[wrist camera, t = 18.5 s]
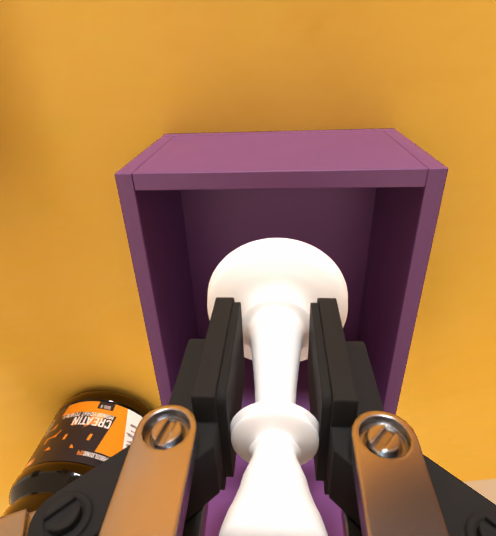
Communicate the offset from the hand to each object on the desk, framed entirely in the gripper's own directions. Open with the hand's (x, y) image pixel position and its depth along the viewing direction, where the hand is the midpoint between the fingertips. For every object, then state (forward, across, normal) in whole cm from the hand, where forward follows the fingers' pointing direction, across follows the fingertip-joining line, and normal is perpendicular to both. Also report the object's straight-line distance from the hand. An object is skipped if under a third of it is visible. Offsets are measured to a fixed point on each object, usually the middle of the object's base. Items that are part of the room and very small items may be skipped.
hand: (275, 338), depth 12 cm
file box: (+16, 0, +5) cm, 17 cm away
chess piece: (+2, 0, 0) cm, 2 cm away
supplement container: (+16, +16, +24) cm, 33 cm away
